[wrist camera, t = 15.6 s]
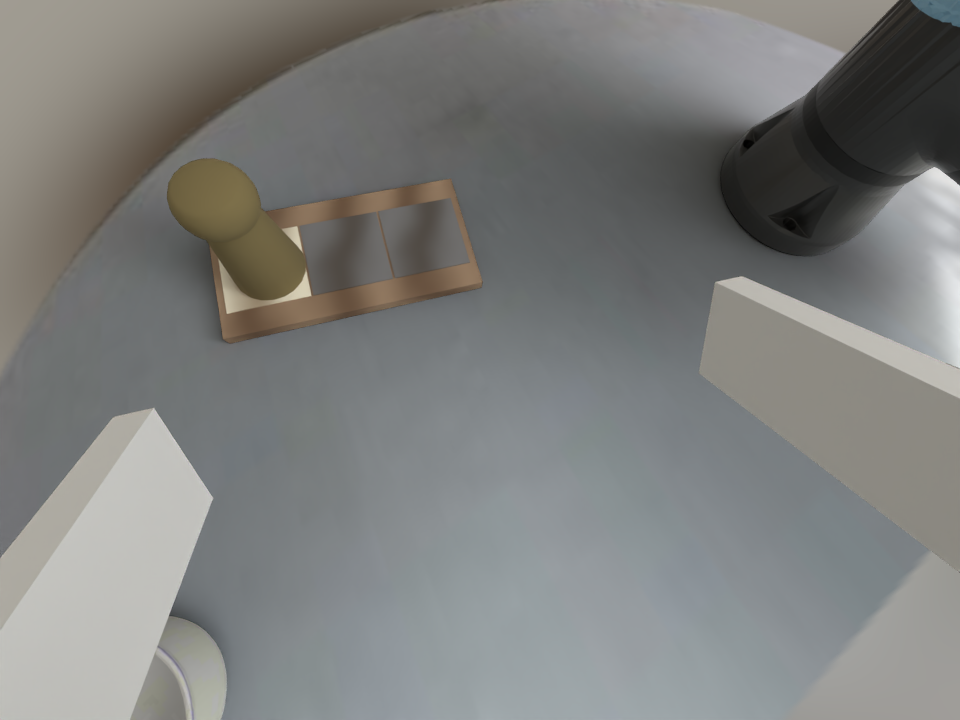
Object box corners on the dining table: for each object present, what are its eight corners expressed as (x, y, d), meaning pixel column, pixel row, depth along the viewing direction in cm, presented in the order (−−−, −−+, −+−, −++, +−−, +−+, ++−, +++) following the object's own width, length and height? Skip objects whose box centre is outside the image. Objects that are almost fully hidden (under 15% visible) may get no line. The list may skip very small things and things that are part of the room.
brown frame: (450, 186, 42) (451, 177, 41) (481, 287, 39) (482, 281, 38) (212, 229, 38) (205, 221, 37) (229, 343, 36) (222, 338, 35)
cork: (235, 306, 35) (149, 234, 25) (228, 241, 37) (145, 147, 26) (310, 293, 36) (258, 219, 26) (301, 231, 38) (248, 136, 27)
